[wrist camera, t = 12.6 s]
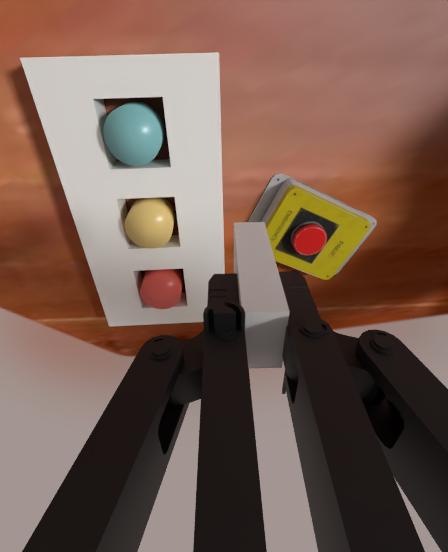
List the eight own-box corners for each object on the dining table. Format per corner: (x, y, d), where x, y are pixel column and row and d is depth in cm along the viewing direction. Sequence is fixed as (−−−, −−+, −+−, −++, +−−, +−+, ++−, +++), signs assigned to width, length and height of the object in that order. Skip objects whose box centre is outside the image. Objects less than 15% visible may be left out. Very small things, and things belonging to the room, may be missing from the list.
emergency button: (282, 181, 31) (395, 234, 35) (274, 168, 34) (378, 218, 38) (241, 254, 35) (344, 294, 39) (237, 236, 39) (333, 274, 43)
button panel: (217, 53, 27) (218, 52, 25) (224, 306, 45) (225, 320, 42) (36, 57, 27) (20, 57, 25) (114, 311, 44) (109, 326, 42)
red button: (180, 260, 39) (178, 276, 37) (184, 291, 42) (182, 308, 39) (141, 262, 39) (136, 278, 36) (148, 293, 42) (143, 310, 39)
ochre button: (172, 192, 34) (169, 205, 31) (177, 233, 37) (174, 247, 34) (127, 194, 34) (120, 206, 31) (135, 234, 37) (129, 249, 34)
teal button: (161, 100, 29) (156, 105, 26) (167, 155, 32) (164, 165, 29) (107, 102, 29) (96, 106, 26) (119, 157, 32) (110, 166, 29)
